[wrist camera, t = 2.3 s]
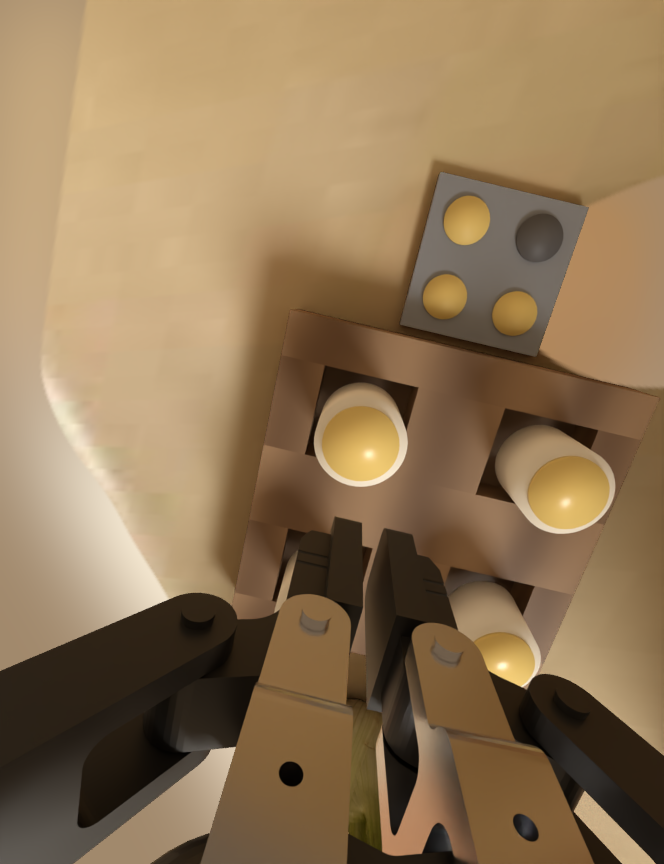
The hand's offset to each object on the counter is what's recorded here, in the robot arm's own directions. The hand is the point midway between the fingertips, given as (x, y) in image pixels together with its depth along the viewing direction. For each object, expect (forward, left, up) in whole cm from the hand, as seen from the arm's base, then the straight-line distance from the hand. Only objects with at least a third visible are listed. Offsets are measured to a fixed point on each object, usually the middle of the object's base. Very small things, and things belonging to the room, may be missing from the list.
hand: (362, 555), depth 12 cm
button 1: (0, 0, -14) cm, 14 cm away
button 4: (-10, +10, -14) cm, 20 cm away
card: (-5, -9, -17) cm, 20 cm away
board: (-5, +5, -17) cm, 18 cm away
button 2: (-10, 0, -14) cm, 17 cm away
